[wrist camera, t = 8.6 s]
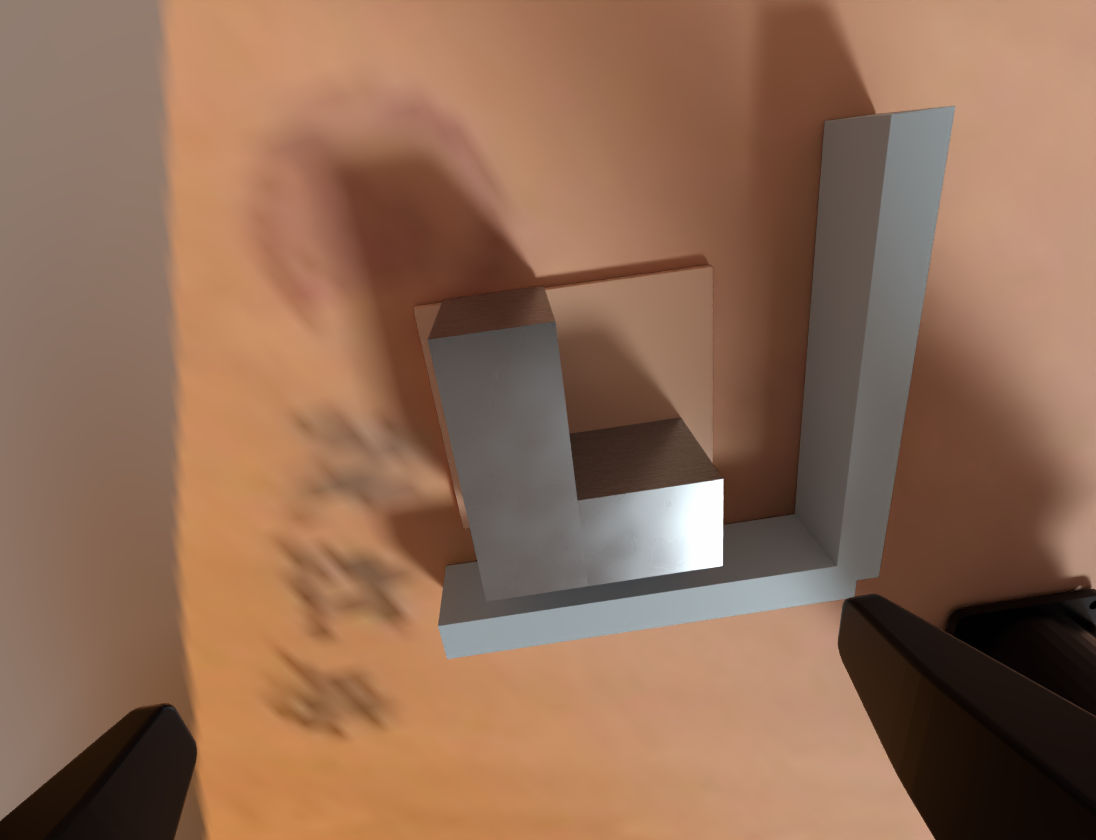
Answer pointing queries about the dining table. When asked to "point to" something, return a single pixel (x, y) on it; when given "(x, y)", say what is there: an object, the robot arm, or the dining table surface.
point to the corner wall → (827, 418)
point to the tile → (623, 353)
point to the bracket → (561, 462)
